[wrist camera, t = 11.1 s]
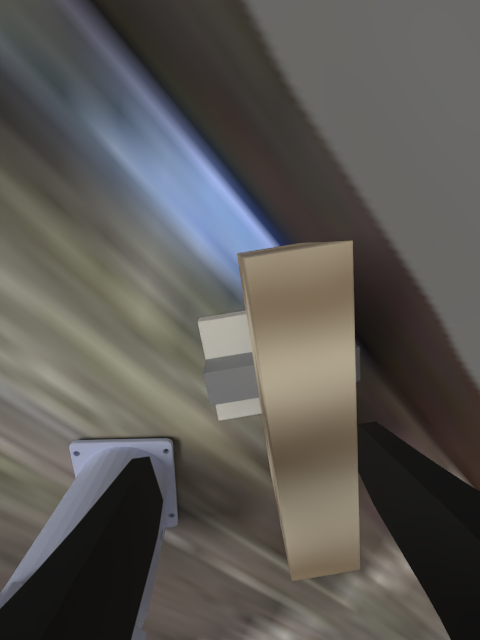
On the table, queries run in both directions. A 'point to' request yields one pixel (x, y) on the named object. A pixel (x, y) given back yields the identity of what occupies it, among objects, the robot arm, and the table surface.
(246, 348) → the balance stand
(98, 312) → the table surface
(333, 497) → the ash beam
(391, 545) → the table surface
